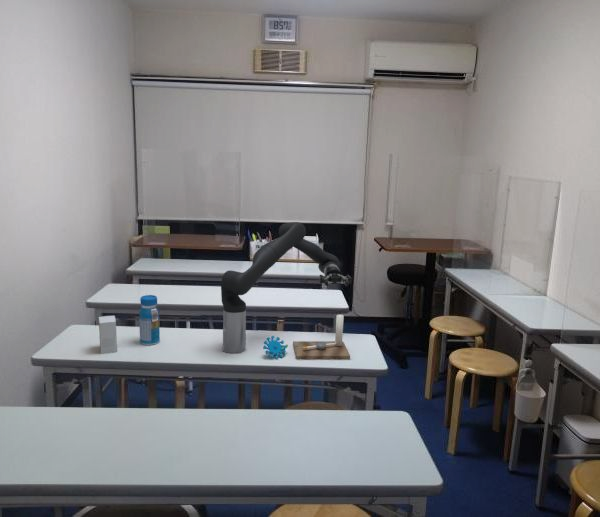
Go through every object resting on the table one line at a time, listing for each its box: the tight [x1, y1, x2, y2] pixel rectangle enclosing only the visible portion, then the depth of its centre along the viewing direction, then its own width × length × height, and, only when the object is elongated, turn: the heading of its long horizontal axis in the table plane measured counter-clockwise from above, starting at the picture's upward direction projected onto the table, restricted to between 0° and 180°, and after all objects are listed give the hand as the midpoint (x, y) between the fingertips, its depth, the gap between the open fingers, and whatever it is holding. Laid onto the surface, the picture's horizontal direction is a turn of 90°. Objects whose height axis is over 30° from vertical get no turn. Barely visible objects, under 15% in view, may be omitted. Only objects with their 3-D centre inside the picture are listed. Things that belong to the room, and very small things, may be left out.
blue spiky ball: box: [262, 335, 289, 360], centre depth 209 cm, size 11×6×10 cm
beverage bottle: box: [138, 294, 161, 346], centre depth 215 cm, size 8×8×20 cm
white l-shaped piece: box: [302, 314, 344, 350], centre depth 212 cm, size 18×4×13 cm, turn 115°
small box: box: [98, 315, 118, 354], centre depth 207 cm, size 8×6×13 cm
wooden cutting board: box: [292, 340, 351, 361], centre depth 214 cm, size 22×16×2 cm
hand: (337, 284), depth 225 cm, fingers open, 8 cm apart
